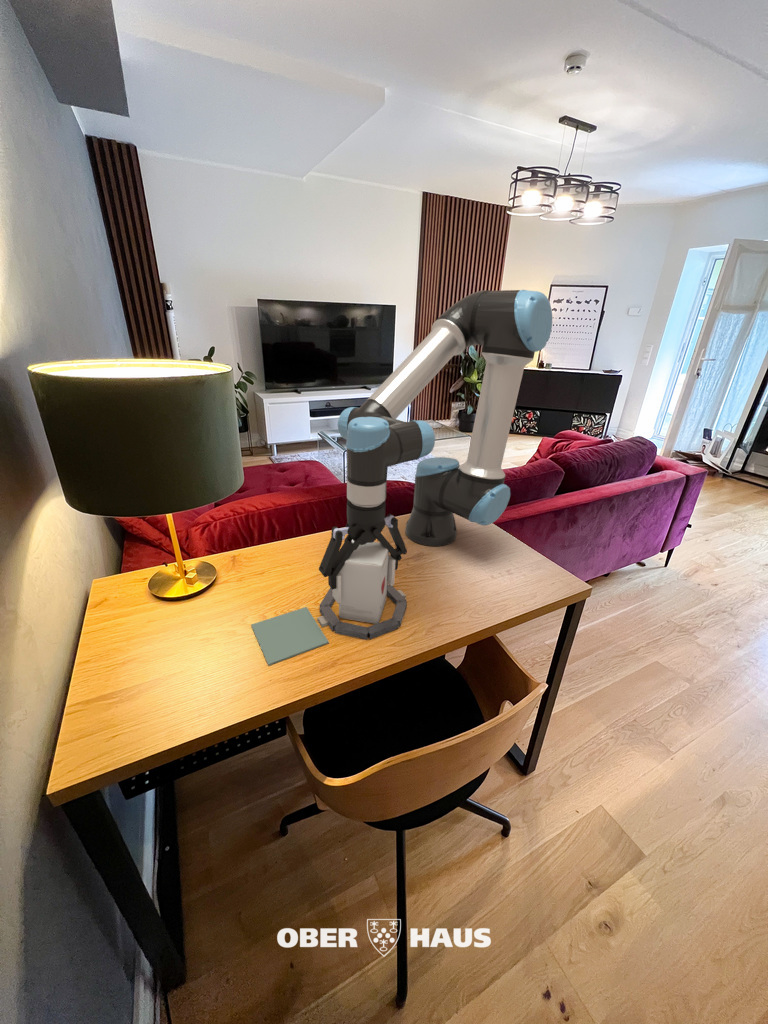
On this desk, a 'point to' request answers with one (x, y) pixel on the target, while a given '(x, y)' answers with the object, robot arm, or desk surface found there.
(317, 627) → the felt pad
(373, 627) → the socket collar
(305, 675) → the desk surface
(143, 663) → the desk surface
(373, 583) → the supplement box
